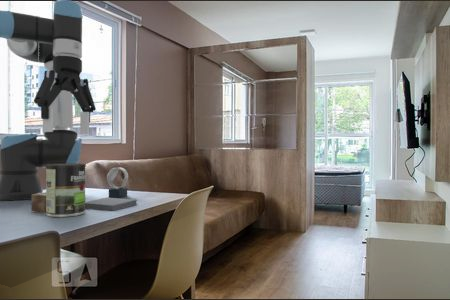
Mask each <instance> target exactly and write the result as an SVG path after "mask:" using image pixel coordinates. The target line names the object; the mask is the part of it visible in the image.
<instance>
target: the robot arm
mask: <svg viewBox="0 0 450 300" xmlns="http://www.w3.org/2000/svg"><path fill="white" fill-rule="evenodd" d="M83 18H84V17H83V9H82V6H81V5H80V3H77V2H75V1H72V0H56V1H54V2H53V7H52V18H51V17H46V16H45V17H44V16H40V15H38V16H37V15H32V14H25V13H20V12H14V11H11V10H0V38H3V39H5V40H6V43H7V47H8V48H9V50H10V51H11V52H12V53H13V54H14V55H16V56H17V57H20V58H22V59H24V60H27V61H29V62H33V63H40V64H43V67H44V69H45V71H44V74H43V79H42V82H41V84H40V86H39V88H38V90H37V92H36V94H35V97H34V98H33V103H34V104H36V105H37V107H39V108H40V117H41V120H42V133H43V135H44V136H39V134H38V132H31V133H30V132H28V133H18V134H10V135H4V136H3V137H2V138H1V140H0V201H19V200H32V194H37V193H44V189H43V188H42V185H41V181H40V178H39V175H38V172H39V171H38V169H45V168H46V164H63V163H78V164H79V162H80V157H81V150H82V144H83V143H82V137H80V136H78V132H77V131H76V130H75V129H74V112H73V109H74V108H73V107H74V105H73V102H74V101H73V97H74V98H75V101H76V102H77V105H78V106H79V107H80V109H81V110H82V111H81V112H80V113H79V114H80V115H79V117H80V123H79V126H80V132H79V133H80V135H85V134H86V135H88V134H90V124H91V113H93V112H94V111H96V105H95V102H94V99H93V96H92V93H91V90H90V86H89V79H88V78H81V77H80V74H81V73H82V72H83V60H82V57H83V52H82V51H83V41H82V40H83V39H82V38H83Z"/></svg>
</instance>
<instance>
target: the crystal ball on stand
mask: <svg viewBox="0 0 450 300" xmlns="http://www.w3.org/2000/svg"><path fill="white" fill-rule="evenodd" d="M119 170H120V171H122V173H123V174H124V177H123V180H122V183H121V184H120V187H118V186H117V185H115V184H114V181H115V179H116V177H117V176H118V174H119ZM106 178H107V183H108V185H109V187H110V188H108V198H120V199H122V198H126V197H128V188H127V187H126V186H127V184H128V183H129V182H128V181H129V179H130V177H129V173H128V170H127V169H125V168H124V167H113V168H111V169H110V170H109V171H108V172H107V174H106ZM125 196H126V197H125ZM121 197H122V198H121Z"/></svg>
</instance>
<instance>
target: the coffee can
mask: <svg viewBox="0 0 450 300" xmlns="http://www.w3.org/2000/svg"><path fill="white" fill-rule="evenodd" d="M86 167H87V166H86V163H79V162H78V163H63V164H46V169H45V170H46V173H45V177H46V179H45V181H46V183H45V184H46V186H45V187H46V188H45V189H46V190H45V192H46V213H45V216H47V217H50V218H68V217H76V216H77V217H78V216H81V215H83V214H86V208H85V202H86Z"/></svg>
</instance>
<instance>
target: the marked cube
mask: <svg viewBox="0 0 450 300" xmlns="http://www.w3.org/2000/svg"><path fill="white" fill-rule="evenodd" d="M31 211H34V213H41V212H42V214H43V213H44V214H46V191H45V192H44V191H43V193H37V194H32V199H31Z"/></svg>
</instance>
